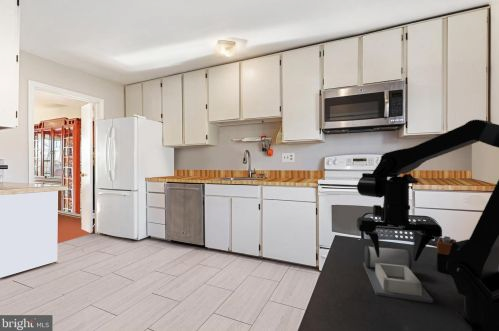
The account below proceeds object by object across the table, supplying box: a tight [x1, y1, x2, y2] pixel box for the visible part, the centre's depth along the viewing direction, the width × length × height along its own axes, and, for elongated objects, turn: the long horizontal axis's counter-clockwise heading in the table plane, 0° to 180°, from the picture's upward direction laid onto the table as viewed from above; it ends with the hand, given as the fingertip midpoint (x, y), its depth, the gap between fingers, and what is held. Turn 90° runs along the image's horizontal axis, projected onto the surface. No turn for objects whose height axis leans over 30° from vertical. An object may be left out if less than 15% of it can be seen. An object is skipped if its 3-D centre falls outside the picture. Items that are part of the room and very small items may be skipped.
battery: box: [436, 235, 457, 275], centre depth 76 cm, size 4×7×10 cm, turn 138°
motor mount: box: [362, 245, 434, 304], centre depth 69 cm, size 20×12×7 cm, turn 164°
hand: (396, 258), depth 66 cm, fingers open, 8 cm apart
